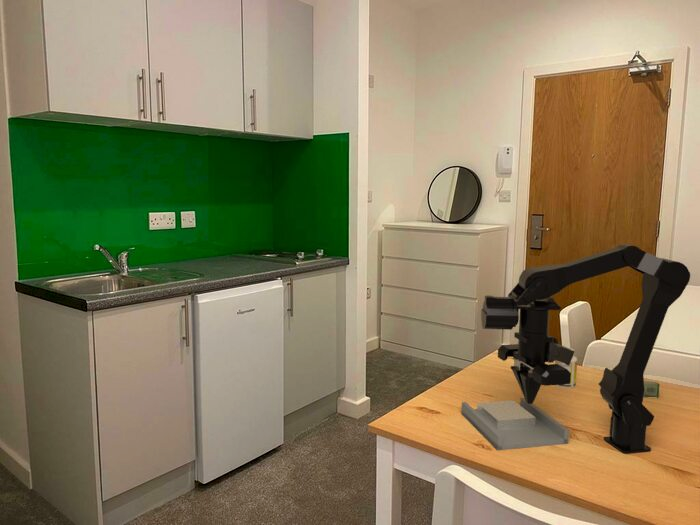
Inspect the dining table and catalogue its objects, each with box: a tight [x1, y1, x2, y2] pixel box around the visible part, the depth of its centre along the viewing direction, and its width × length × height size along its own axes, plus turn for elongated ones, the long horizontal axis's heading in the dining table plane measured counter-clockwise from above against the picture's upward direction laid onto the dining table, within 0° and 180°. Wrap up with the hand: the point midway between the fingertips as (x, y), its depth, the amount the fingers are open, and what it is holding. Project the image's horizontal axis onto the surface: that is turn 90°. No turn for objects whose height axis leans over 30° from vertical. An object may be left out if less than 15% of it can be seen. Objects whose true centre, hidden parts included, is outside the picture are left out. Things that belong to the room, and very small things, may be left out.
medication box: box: [643, 380, 660, 399], centre depth 139 cm, size 12×3×4 cm, turn 80°
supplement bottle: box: [554, 347, 578, 389], centre depth 145 cm, size 6×6×10 cm
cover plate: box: [476, 399, 536, 429], centre depth 122 cm, size 10×9×2 cm
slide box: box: [460, 397, 570, 451], centre depth 119 cm, size 18×16×3 cm
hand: (529, 403), depth 112 cm, fingers closed
